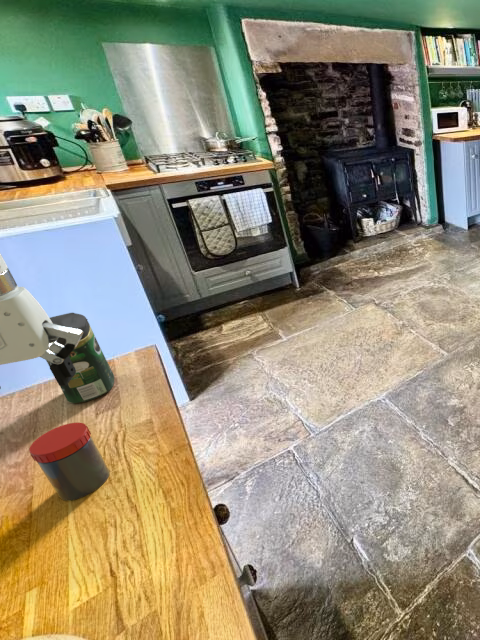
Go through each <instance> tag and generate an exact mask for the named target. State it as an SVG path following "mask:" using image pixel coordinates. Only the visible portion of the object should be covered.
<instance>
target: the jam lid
mask: <svg viewBox="0 0 480 640" xmlns="http://www.w3.org/2000/svg"><path fill="white" fill-rule="evenodd" d="M90 436H91V437H92V433H91V431H90V428H89V427H88V426H87V424H85V423H83V422H70V423H65V424H62V425H59V426H56V427H55V428H52V429H50V430H48V431H47V432H45V433H43V434H41V435H40V436H39V437H37V438H36V439H35V440H34V441H33V442H32V443H31V444H30V446H29V449H28V451H29V454H30V457H31V458H32V460H33V461H34V462H36V463H37V462H40V463H47V462H53V461H56V460H59V459H62V458H65V457H67V456H69V455H71V454H73V453H74V452H76V451H77V450H79V449H80V448H82V447H83V446H84V445H85V444H86V443H87V442H88V440H89V439H90Z"/></svg>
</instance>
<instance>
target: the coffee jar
mask: <svg viewBox="0 0 480 640" xmlns="http://www.w3.org/2000/svg"><path fill="white" fill-rule="evenodd" d="M49 318H50V320H51V321H52V323H53V324H56V325H61V326H65V327H70V328H74V329H79V330H82V331H83V332H84V333H83V335H82V337H81V339H80V341H79V343H78V345H77V346H76V347H75V349H74V350H73V351H72V352H71V353H70V354H69V357H70V359H71V361H72V363H73V365H74V367H75V369H76V373H75V375H74V376H73V378H72V379H71V380H70V382H69V383H68V384H67V385H65V386H59V387H60V389H61V391H62V394H63V395H64V397H65V399H66V401H67V402H68V403H70V404H79V403H85V402H86V403H87V402H90V401H92V400H96V399H98V398H100V397H102V396H103V395H106V394H107V393H109V392H111V390H112V389H113V387H114V385H115V375H114V372H113V371H112V368H111V367H110V365H109V363H108V360H107V358H106V357H105V354H104V351H103V350H102V347H101V346H100V344H99V341H98V339H97V337H96V336H95V332H94V330H93V329H92V327H91V325H90V322H89V321H88V318H87V317H86V316H85V315H83V314H80V313H76V312H67V313H63V314H59V315H55V316H49ZM56 342H58V343H60V344H62V345H65V343H66V339H64V338H60V337H59V338H58V340H56ZM48 350H50V349H48ZM50 351H52V350H50ZM52 352H54V351H52ZM54 353H56V352H54ZM56 354H58V353H56ZM45 361H46V363H47V365H48V367H49V368H50V366H51V365H52V364H53V363H51V362H49V361H47V360H45Z"/></svg>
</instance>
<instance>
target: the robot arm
mask: <svg viewBox="0 0 480 640" xmlns="http://www.w3.org/2000/svg"><path fill="white" fill-rule="evenodd" d="M83 333H84V332H83V331H82V330H79V329H74V328H70V327H65V326H61V325H56V324H53V323H52V321H51V320H50V316H49V315H48V313H47V311H46V310H45V309H44V308H43V307H42V305H41V303H40V302H39V301H38V300H37V299H36V298H35V297H34V296H33V294H32V293H31V292H30V291H29V290H28V289H27V288H26V287H25V286H19V285H18V283H17V282H16V280H15V278H14V277H13V274H12V272H11V270H10V268H9V267H8V265H7V263H6V261H5V259H4V257H3V255H2V254H1V252H0V366H1V365H8V364H12V363H19V362H25V361H29V360H34V359H37V358H40V359H42V360H45V361H46V360H47V361H49V362H51V363H53V364H52V365H51V366H50V367H49V370H50V372H51V374H52V375H53V378H54V379H55V380H56V382H57V385H58V386H59V387H60V386H65V385H67V384H68V383H69V382H70V380H71V379H72V378H73V376H74V375H75V373H76V369H75V367H74V365H73V363H72V361H71V359H70V357H69V354H70V353H71V352H72V351H73V350H74V349H75V347H76V346H77V345H78V343H79V341H80V339H81V337H82V335H83ZM59 337H60V338H64V339H66V343H65V345H62V344H60V343H58V342H56V340H58V338H59ZM48 349H50V350H52V351H54V352H56V353H58V354H56V353H54V352H52V351H50V350H48ZM47 361H46V362H47ZM0 390H1V386H0Z"/></svg>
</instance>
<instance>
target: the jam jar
mask: <svg viewBox="0 0 480 640" xmlns="http://www.w3.org/2000/svg"><path fill="white" fill-rule="evenodd" d="M36 463H37V464H38V466H39V467H40V469H41V471H42V472H43V474H44V475H45V477H46V479H47V480H48V482H49V483H50V485H51V486H52V488H53V490H54V491H55V493H56V494H57V496H58V498H59V499H60V500H62V501H66V502H67V501H74V500H78V499H81V498H83V497H86V496H88V495H90V494H91V493H94V492H95V491H96V490H98V489H99V488H100V487H102V486H103V485H104V484H105V483H106V482H107V480H108V479H109V477H110V474H111V473H110V469H109V467H108V465H107V464H106V462H105V460H104V458H103V456H102V454H101V452H100V450H99V448H98V447H97V445H96V443H95V441H94V439H93V438H92V435H91V436H90V439H89V440H88V442H87V443H86V444H85V445H84V446H83V447H82V448H80V449H79V450H77V451H76V452H74V453H73V454H71V455H69V456H67V457H65V458H62V459H59V460H56V461H53V462H47V463H40V462H37V461H36Z"/></svg>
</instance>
